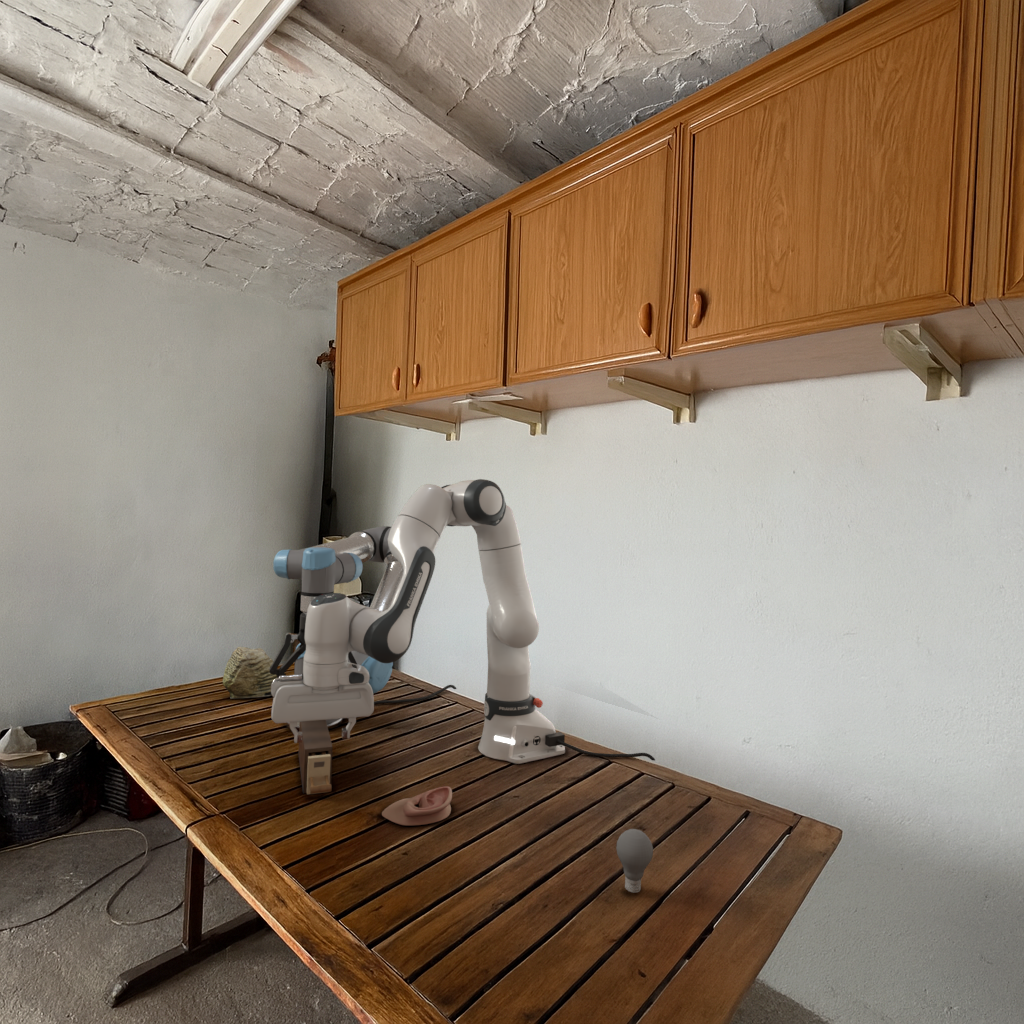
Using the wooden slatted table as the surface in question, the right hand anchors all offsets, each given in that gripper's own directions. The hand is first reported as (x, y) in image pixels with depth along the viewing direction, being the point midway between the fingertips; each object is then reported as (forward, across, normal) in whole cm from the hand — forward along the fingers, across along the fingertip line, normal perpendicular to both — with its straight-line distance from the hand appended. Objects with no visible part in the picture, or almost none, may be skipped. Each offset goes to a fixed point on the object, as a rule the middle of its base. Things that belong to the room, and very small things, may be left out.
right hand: (322, 739), depth 131 cm
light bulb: (+13, +46, -46) cm, 66 cm away
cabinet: (+13, 0, +16) cm, 21 cm away
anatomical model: (+13, +18, -10) cm, 25 cm away
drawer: (+12, 0, +10) cm, 16 cm away
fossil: (+14, -13, +78) cm, 80 cm away
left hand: (-1, 0, +23) cm, 23 cm away
